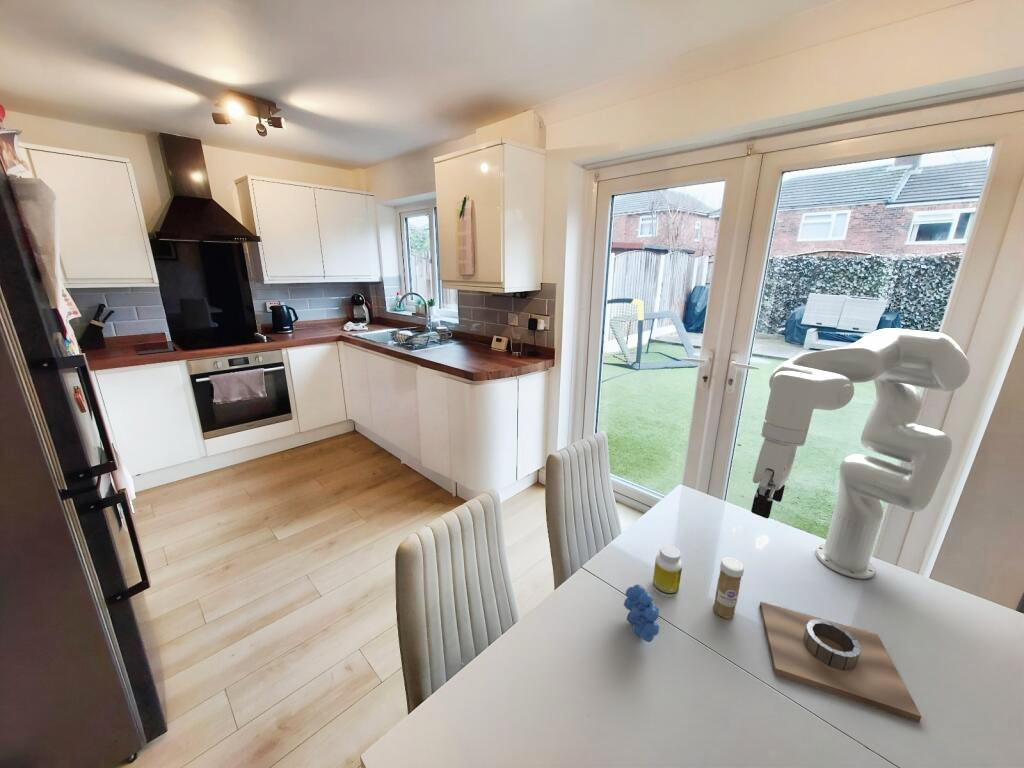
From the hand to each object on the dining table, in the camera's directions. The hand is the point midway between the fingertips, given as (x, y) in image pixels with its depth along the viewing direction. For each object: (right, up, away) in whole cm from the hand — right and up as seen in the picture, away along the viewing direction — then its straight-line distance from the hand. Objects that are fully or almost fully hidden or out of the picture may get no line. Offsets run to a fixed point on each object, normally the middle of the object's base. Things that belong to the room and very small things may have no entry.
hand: (766, 506), depth 85 cm
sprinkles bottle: (-5, -27, +8) cm, 29 cm away
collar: (+11, -29, -3) cm, 31 cm away
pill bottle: (-16, -25, +15) cm, 34 cm away
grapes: (-26, -29, +2) cm, 39 cm away
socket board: (+11, -30, -3) cm, 32 cm away
